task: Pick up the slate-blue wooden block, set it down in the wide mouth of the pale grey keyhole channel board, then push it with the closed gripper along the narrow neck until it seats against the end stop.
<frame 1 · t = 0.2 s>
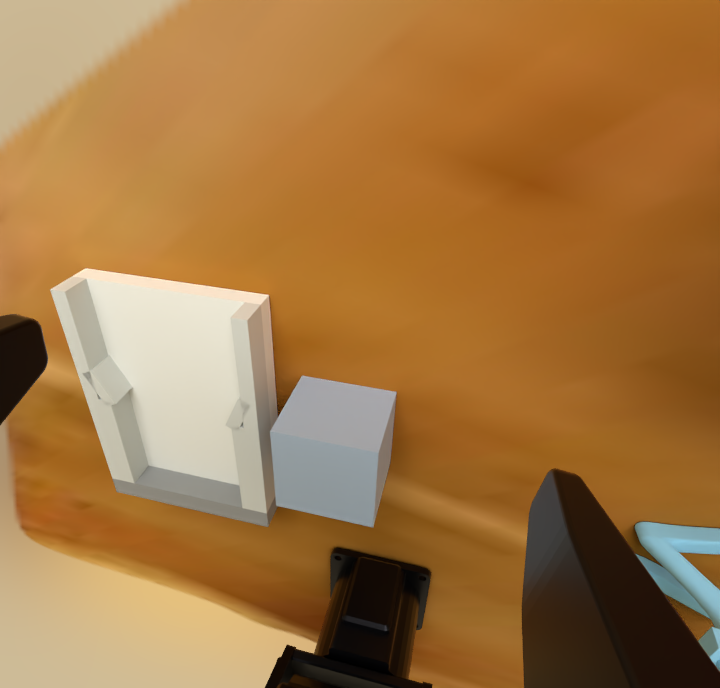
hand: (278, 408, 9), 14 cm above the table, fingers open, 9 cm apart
board: (194, 392, 29), on the table
block: (348, 419, 28), on the table
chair: (705, 557, 27), on the table
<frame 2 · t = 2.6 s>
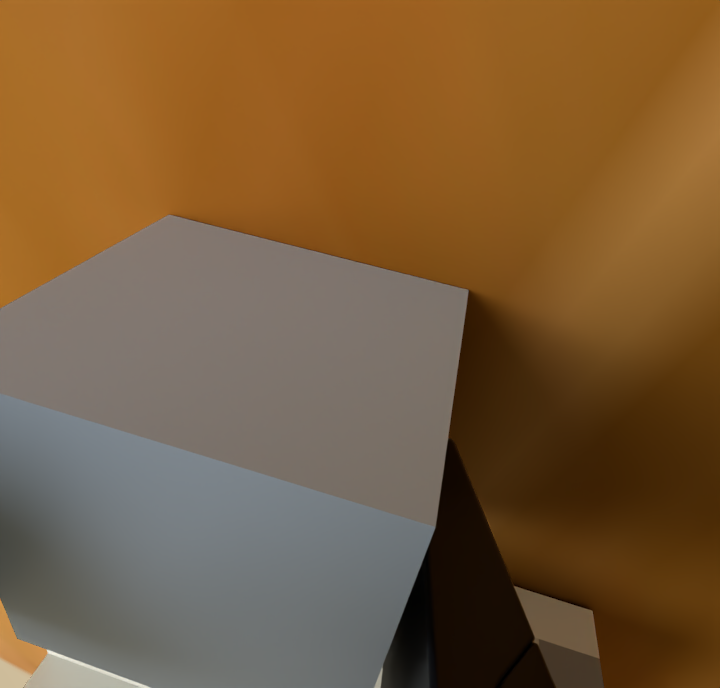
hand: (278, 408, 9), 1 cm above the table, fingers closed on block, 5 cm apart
board: (269, 626, 14), on the table
block: (299, 375, 10), on the table, touching gripper
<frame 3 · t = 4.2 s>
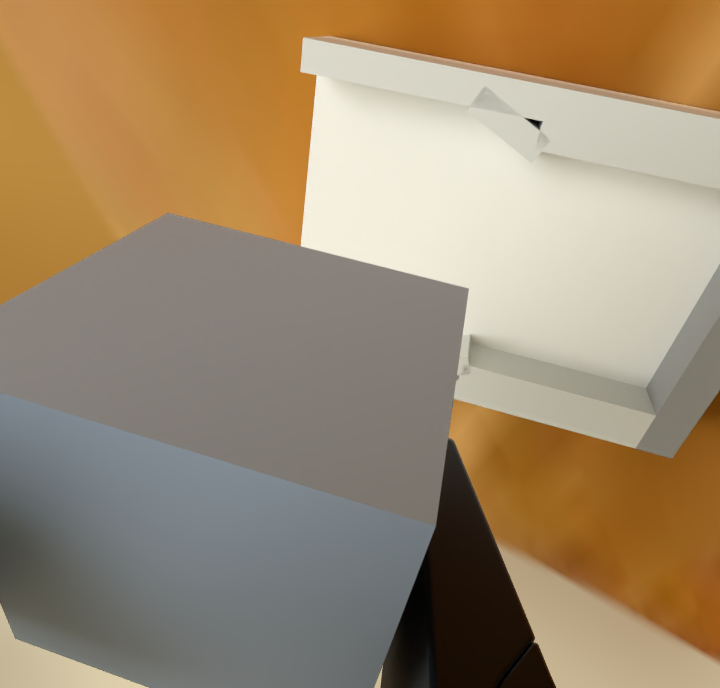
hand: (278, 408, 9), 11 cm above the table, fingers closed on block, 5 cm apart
board: (510, 245, 17), on the table
block: (298, 374, 9), point 10 cm above the table, touching gripper
when the fingers open (3 cm above the table, at t = 5.9 s): block drops 1 cm, resting on board.
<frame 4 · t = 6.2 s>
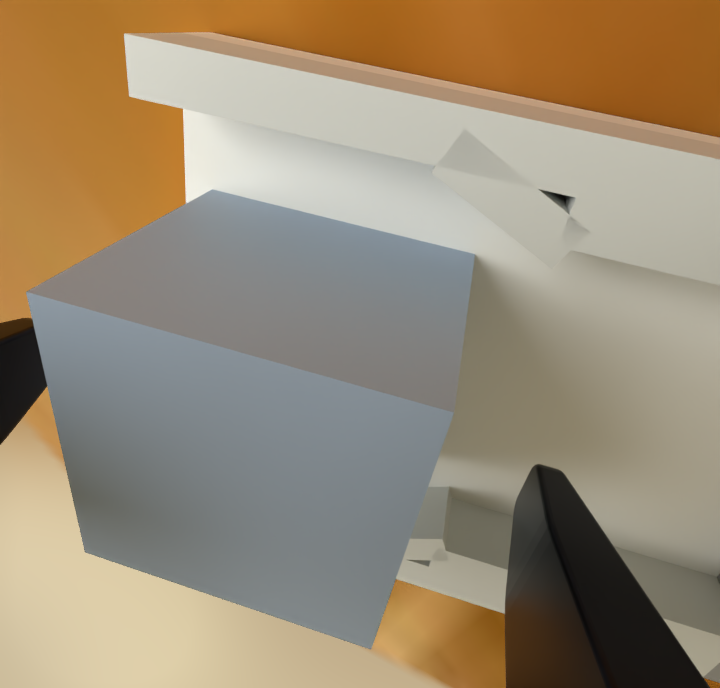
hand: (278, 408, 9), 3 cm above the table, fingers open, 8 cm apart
board: (510, 360, 11), on the table
block: (323, 334, 11), point 1 cm above the table, touching board
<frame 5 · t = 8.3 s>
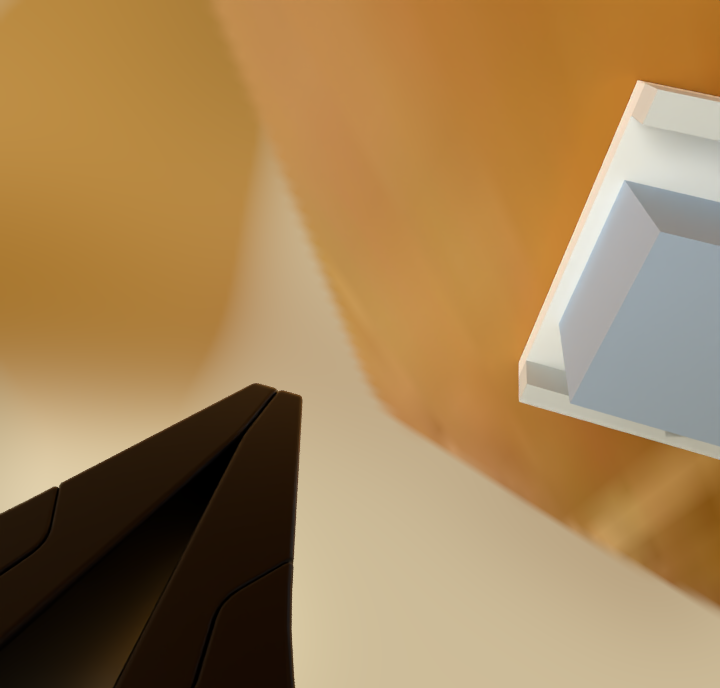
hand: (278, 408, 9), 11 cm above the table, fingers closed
block: (669, 278, 16), point 1 cm above the table, touching board
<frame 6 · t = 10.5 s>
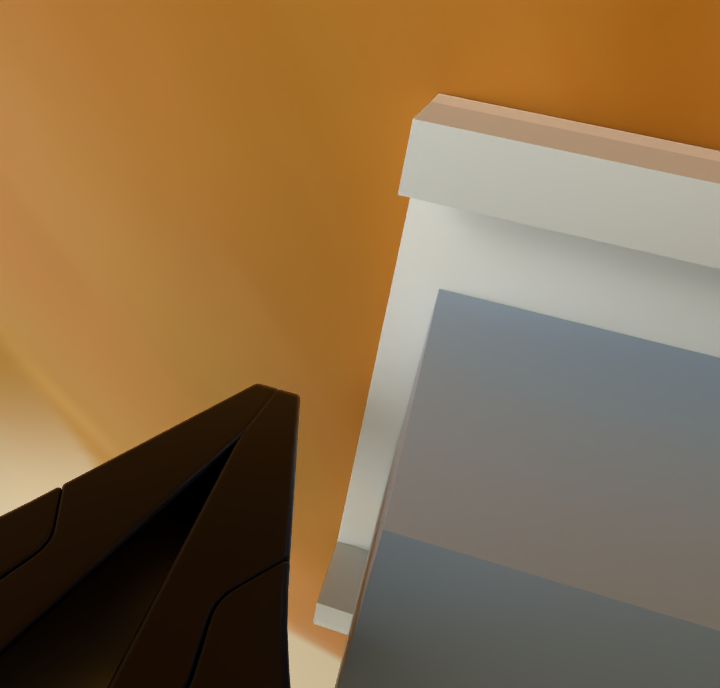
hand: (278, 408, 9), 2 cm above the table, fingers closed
block: (545, 450, 9), point 1 cm above the table, touching board, gripper
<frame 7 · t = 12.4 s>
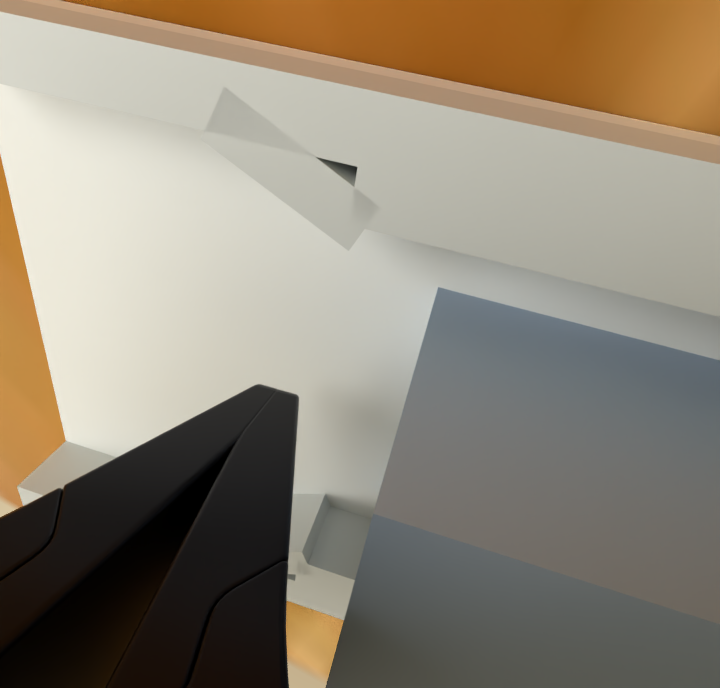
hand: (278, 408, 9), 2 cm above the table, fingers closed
board: (380, 357, 10), on the table
block: (541, 447, 9), point 1 cm above the table, touching board, gripper
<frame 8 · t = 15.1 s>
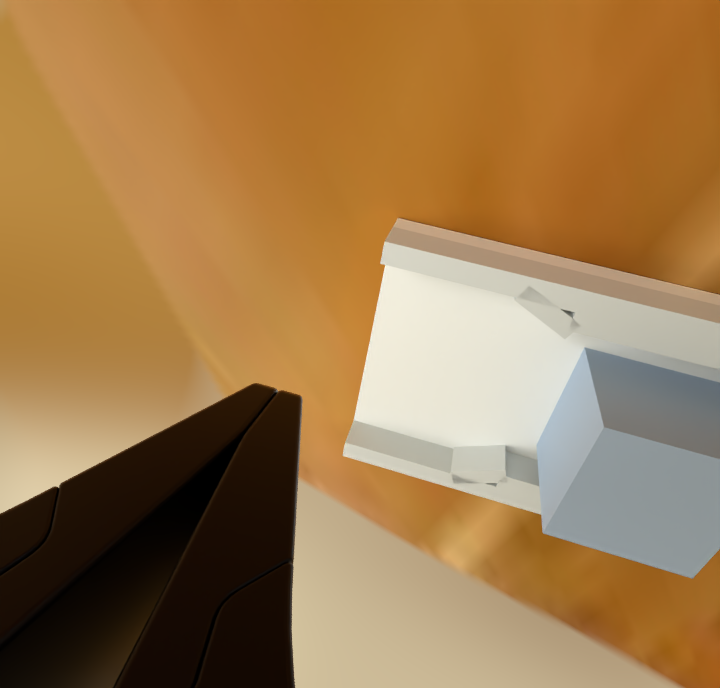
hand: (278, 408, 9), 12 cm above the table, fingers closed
board: (540, 375, 21), on the table
block: (623, 417, 20), point 1 cm above the table, touching board
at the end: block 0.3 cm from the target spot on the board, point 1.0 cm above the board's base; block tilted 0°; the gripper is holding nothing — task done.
